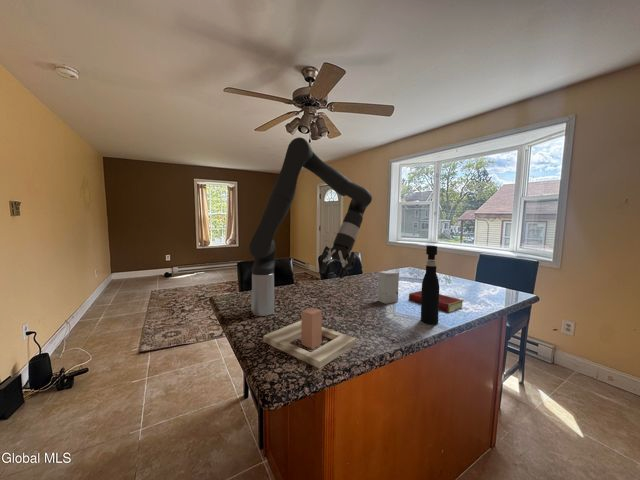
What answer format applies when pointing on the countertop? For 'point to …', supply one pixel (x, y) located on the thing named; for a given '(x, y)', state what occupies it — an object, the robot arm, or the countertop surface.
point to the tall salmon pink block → (311, 327)
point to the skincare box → (388, 287)
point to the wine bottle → (430, 290)
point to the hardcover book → (444, 301)
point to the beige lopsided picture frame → (314, 358)
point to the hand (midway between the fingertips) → (330, 275)
